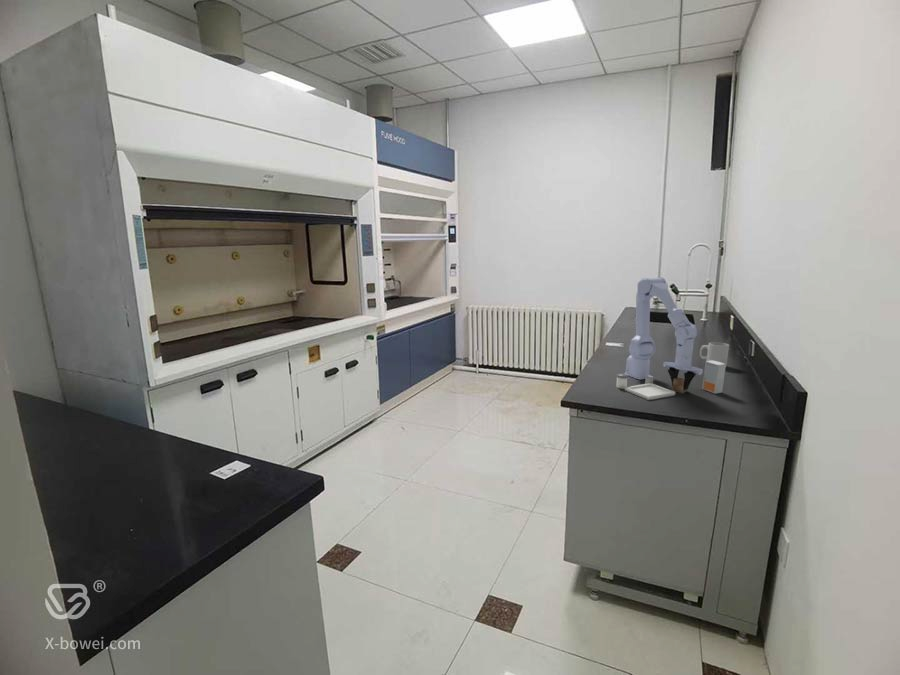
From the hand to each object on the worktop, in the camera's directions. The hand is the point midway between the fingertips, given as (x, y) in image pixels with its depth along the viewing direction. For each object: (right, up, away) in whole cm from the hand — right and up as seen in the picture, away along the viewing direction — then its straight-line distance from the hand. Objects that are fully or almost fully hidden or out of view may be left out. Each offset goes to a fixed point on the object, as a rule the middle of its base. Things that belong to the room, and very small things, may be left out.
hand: (680, 387), depth 179 cm
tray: (-13, -2, -2) cm, 13 cm away
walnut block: (0, -1, 0) cm, 1 cm away
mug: (+34, +6, +37) cm, 51 cm away
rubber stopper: (-9, 0, +8) cm, 12 cm away
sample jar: (-22, 0, +5) cm, 22 cm away
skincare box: (+13, -2, 0) cm, 13 cm away
